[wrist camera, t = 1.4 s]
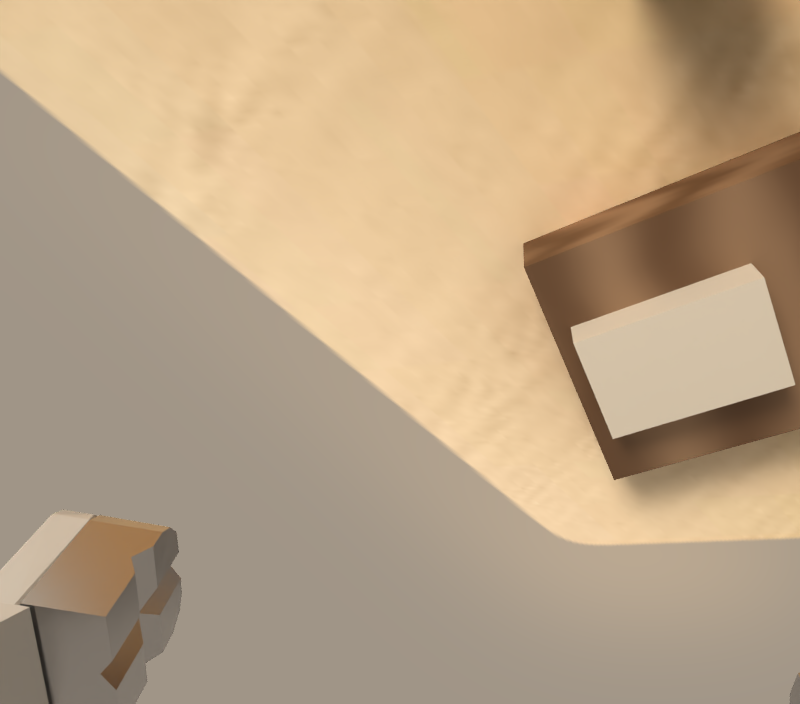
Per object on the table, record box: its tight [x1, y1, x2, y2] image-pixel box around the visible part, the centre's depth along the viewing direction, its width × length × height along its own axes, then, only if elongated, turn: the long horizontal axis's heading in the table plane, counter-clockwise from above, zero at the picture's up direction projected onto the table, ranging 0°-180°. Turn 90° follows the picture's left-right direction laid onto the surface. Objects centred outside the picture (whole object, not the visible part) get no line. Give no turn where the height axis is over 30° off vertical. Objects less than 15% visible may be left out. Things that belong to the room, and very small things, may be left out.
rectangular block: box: [571, 263, 795, 439], centre depth 35 cm, size 9×6×2 cm, turn 116°
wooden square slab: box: [524, 132, 800, 480], centre depth 37 cm, size 15×14×4 cm
